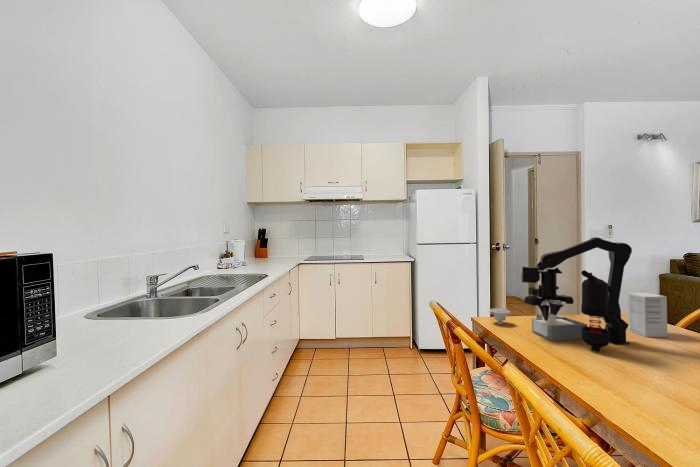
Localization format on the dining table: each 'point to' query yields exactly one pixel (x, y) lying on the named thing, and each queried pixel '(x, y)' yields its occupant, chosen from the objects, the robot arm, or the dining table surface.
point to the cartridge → (547, 324)
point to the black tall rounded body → (595, 310)
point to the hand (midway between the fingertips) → (548, 320)
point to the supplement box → (647, 314)
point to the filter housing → (562, 330)
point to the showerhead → (499, 314)
